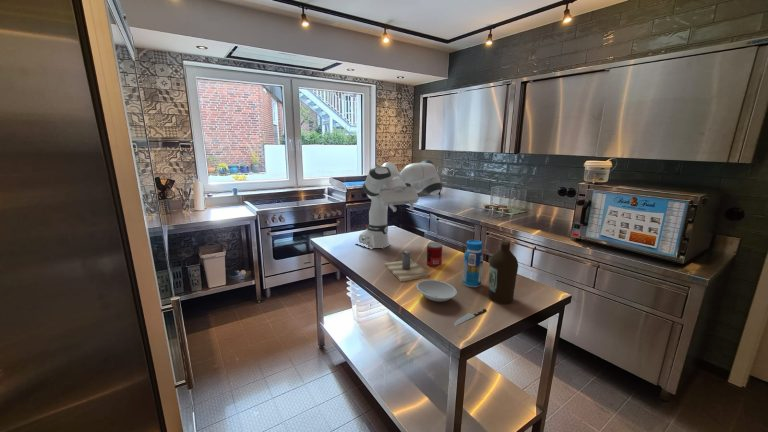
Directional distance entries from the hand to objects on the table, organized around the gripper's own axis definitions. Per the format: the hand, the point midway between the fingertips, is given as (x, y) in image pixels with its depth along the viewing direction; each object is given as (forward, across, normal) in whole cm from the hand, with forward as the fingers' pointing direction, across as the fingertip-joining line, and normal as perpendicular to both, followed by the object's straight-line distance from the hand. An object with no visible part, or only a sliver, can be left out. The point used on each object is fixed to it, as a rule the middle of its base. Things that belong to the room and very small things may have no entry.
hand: (403, 210), depth 152 cm
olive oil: (+55, +22, -13) cm, 60 cm away
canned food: (+25, +15, +17) cm, 34 cm away
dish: (+48, -3, -6) cm, 48 cm away
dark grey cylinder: (+26, -2, +14) cm, 29 cm away
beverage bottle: (+44, +19, -2) cm, 48 cm away
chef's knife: (+59, +1, -17) cm, 62 cm away
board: (+27, -2, +15) cm, 31 cm away
